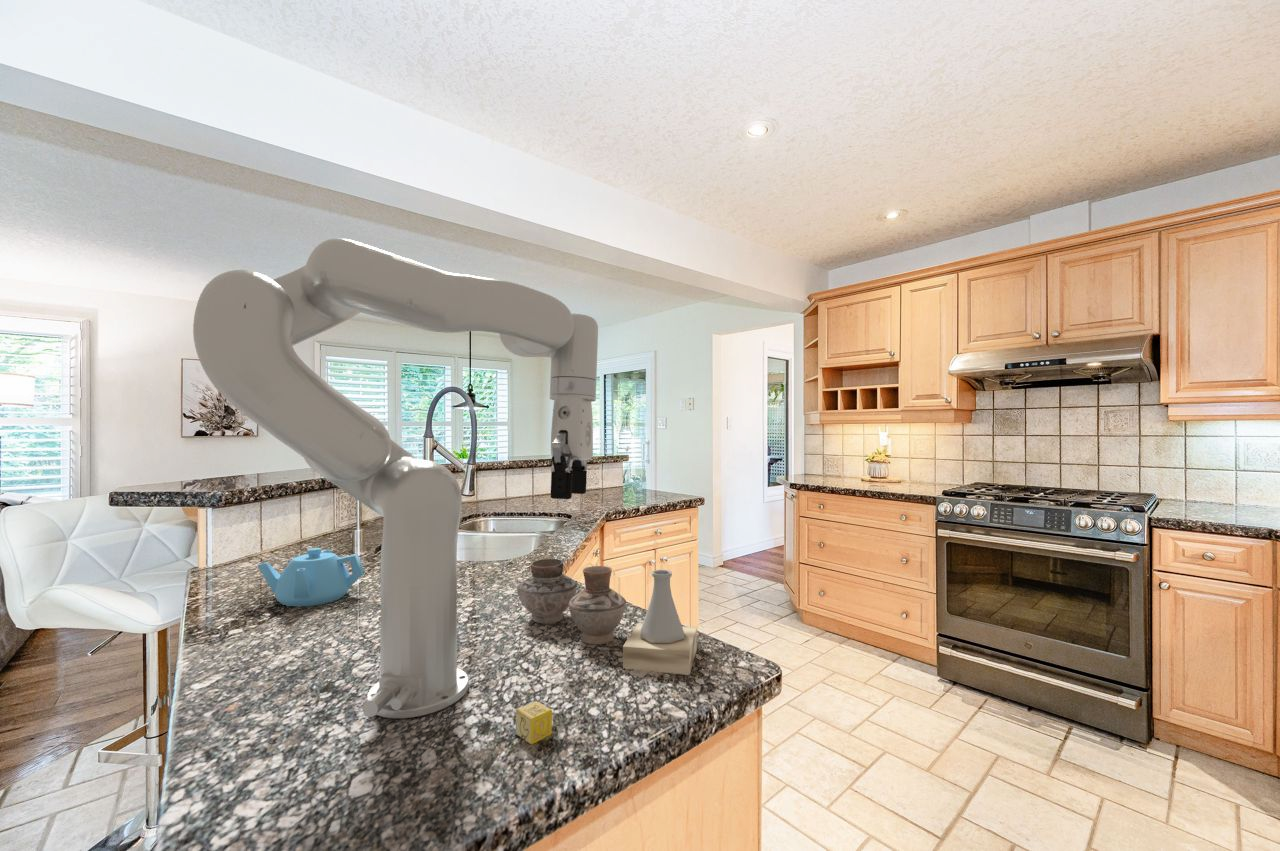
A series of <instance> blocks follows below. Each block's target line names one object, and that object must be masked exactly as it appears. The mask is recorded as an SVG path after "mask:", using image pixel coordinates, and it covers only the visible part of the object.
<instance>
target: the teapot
mask: <svg viewBox="0 0 1280 851" xmlns="http://www.w3.org/2000/svg"><path fill="white" fill-rule="evenodd" d="M322 551H323V552H322ZM332 551H333V550H332V549H324V550H323V548H321V547H313V548H307V550H306V553H307V554H302V555H298V556H295V557H293V558H292V559H290V561H289V562H288V564H286V567H285V568H284V569H283V571H281V574H280V573H279V572H278V571H277V570H276V569H275V568H274V567H273V566H272V565H271V564H270V563H269V562H263V563H259V564H258V565H257V567H258V569H259V570H260V572H261V574H262V576H263V577H264V579H265V581H266V583H267V584H268V586H269V588H270V589H271V591H272V593H273V594H274V597H275V600H276V601H278V603H280V604H281V605H283V606H284V605H286V606H285V607H288V606H307V607H313V606H314V605H315V606H319V605H320V606H321V605H324V604H329V603H332V602H335V601H337V600H340V599H342V598H343V597H344V596H345V595H346V594H347V592H349V590H350V589H351V587H352V585H353V584H355V583H356V582H357V581H358V580H359V579H360V578H361V577H362V576H363V575H365V574H366V573H365V570H364V566H363V565H362V561H361V559H360V556H359V554H358V553H355V554H351V555H346V556H342V557H339V556H338V555H337V554H336V553H334V552H332ZM346 563H349V565H350V569H351V571H352V573H351V574H350V572H349V571H348V568H347V566H346V565H345V564H346ZM341 597H342V598H341Z"/></svg>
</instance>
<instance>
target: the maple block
mask: <svg viewBox="0 0 1280 851" xmlns="http://www.w3.org/2000/svg"><path fill="white" fill-rule="evenodd" d="M642 624H643V622H637V623H636V625H635V626H634V628H633V629H632V630H631V633H630V634H629V636H628V638H627V639H626V641H625V643H624V644H623V645H622V669H624V668H625V669H624V670H632V669H634V671H643V670H646V671H645V672H653V671H654V673H656V672H657V673H664V674H675V675H684V676H690V675H691V671H692V668H693V665H694V660H695V657H696V653H697V650H698V626H688V625H687V626H685V625H682V628H683V631H684V637H685V639H681V640H678V641H675V642H671V643H651V642H649V641H647V640H645V639H643V638H642V637H640V633H641V628H642ZM635 669H636V670H635Z"/></svg>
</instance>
